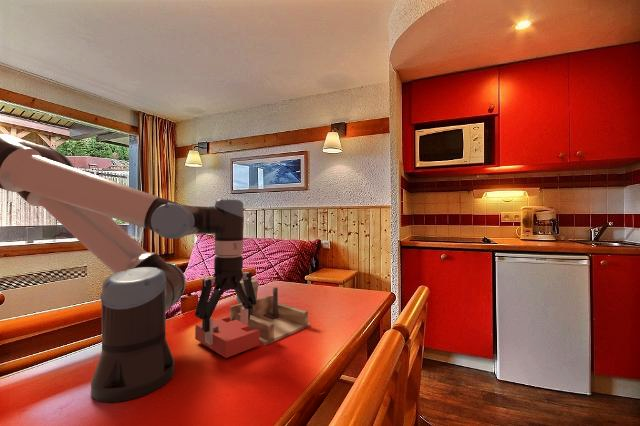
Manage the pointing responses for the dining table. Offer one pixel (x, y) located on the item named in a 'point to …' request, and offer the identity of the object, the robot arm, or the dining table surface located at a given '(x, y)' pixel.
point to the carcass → (272, 318)
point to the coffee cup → (255, 287)
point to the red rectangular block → (229, 336)
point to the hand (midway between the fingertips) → (227, 336)
